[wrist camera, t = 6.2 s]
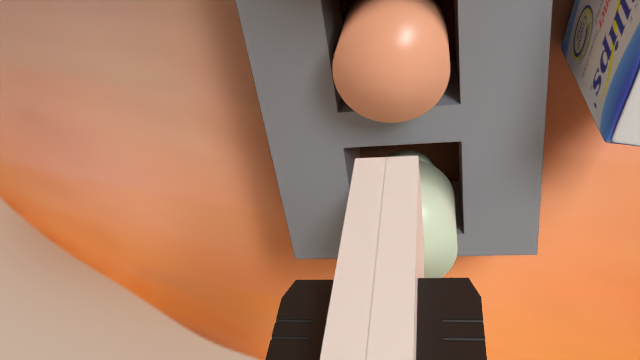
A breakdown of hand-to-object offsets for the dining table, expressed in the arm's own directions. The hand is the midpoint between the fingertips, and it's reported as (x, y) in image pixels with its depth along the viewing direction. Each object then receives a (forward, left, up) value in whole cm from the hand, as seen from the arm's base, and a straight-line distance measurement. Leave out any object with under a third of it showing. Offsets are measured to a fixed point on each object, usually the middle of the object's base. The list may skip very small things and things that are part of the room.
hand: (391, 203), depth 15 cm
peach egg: (+1, -1, -15) cm, 15 cm away
